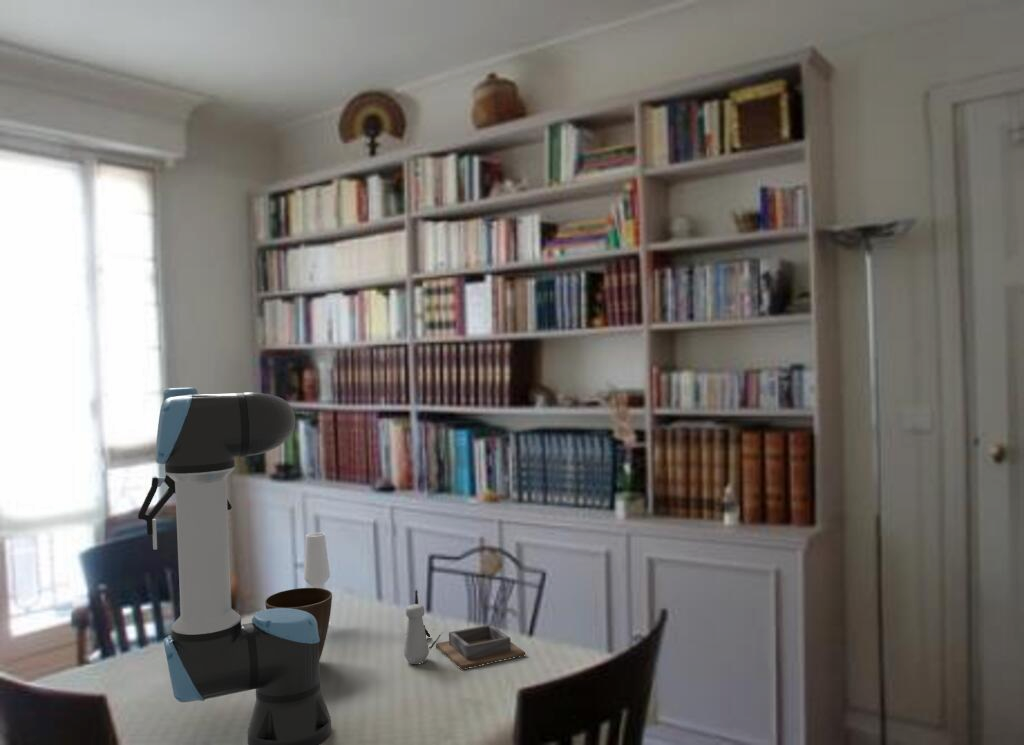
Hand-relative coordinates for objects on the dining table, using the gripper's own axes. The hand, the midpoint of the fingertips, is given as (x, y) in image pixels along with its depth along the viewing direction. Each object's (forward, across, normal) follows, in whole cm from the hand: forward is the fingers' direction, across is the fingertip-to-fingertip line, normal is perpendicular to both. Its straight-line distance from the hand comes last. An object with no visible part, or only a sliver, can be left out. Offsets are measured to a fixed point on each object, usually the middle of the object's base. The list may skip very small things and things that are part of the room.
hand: (186, 544), depth 190 cm
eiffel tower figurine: (+29, -52, +11) cm, 61 cm away
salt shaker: (+28, -46, +26) cm, 60 cm away
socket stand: (+28, -61, +28) cm, 73 cm away
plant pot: (+28, -22, +15) cm, 39 cm away
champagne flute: (+28, -32, -12) cm, 44 cm away
